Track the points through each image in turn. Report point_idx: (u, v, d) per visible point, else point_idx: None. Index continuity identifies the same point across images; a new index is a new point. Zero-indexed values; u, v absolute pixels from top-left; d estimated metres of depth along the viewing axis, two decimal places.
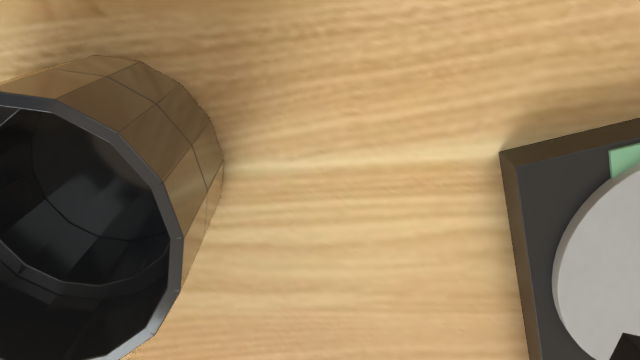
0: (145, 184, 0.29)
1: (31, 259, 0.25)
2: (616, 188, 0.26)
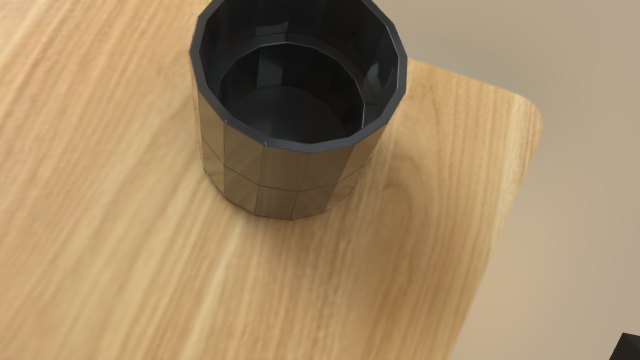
0: None
1: (260, 51, 0.34)
2: None
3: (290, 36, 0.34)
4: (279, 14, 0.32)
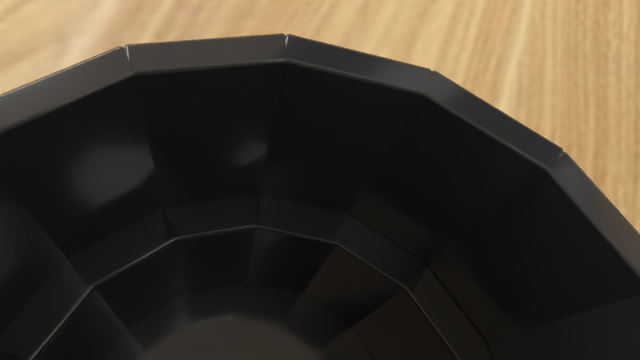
0: None
1: (175, 249, 0.11)
2: None
3: (268, 207, 0.12)
4: (234, 160, 0.10)
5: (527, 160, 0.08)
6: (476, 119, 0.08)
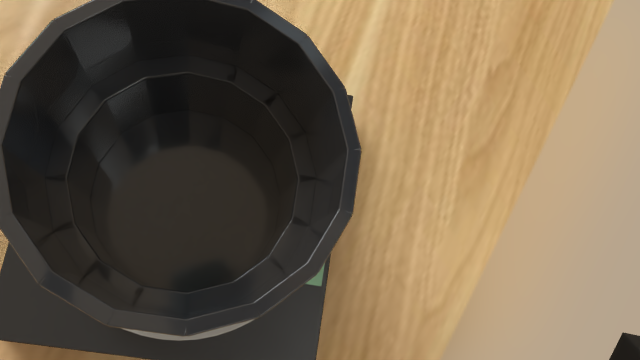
0: (153, 215, 0.25)
1: (145, 84, 0.22)
2: None
3: (193, 62, 0.22)
4: (171, 37, 0.20)
5: (290, 39, 0.18)
6: (270, 21, 0.18)
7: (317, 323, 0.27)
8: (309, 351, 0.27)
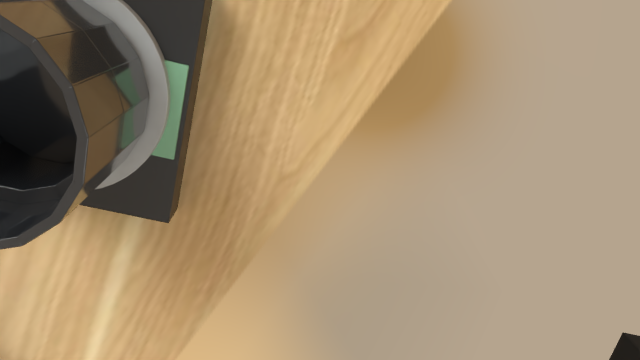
0: (26, 103, 0.32)
1: None
2: (157, 58, 0.32)
3: None
4: None
5: (21, 42, 0.22)
6: (1, 26, 0.21)
7: (171, 185, 0.35)
8: (165, 204, 0.35)
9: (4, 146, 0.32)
